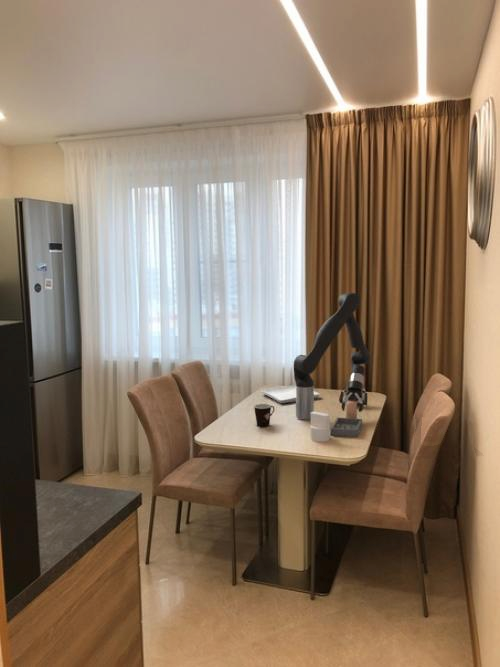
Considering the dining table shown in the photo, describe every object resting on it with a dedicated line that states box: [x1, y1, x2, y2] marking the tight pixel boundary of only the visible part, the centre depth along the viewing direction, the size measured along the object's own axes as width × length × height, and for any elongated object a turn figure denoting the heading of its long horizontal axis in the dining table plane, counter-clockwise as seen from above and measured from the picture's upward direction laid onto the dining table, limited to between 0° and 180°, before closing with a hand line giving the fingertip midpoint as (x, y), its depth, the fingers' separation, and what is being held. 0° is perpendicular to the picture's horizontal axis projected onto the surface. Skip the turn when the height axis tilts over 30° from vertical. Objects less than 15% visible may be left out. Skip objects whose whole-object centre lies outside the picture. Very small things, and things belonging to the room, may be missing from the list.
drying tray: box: [330, 416, 363, 438], centre depth 266 cm, size 18×13×5 cm
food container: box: [343, 387, 367, 408], centre depth 309 cm, size 12×6×10 cm, turn 84°
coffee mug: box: [253, 403, 275, 428], centre depth 279 cm, size 12×9×10 cm
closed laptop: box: [260, 384, 321, 404], centre depth 333 cm, size 27×27×4 cm
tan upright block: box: [345, 401, 358, 419], centre depth 280 cm, size 5×5×10 cm
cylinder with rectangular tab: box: [309, 411, 331, 443], centre depth 256 cm, size 9×9×12 cm
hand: (351, 410), depth 280 cm, fingers open, 8 cm apart
